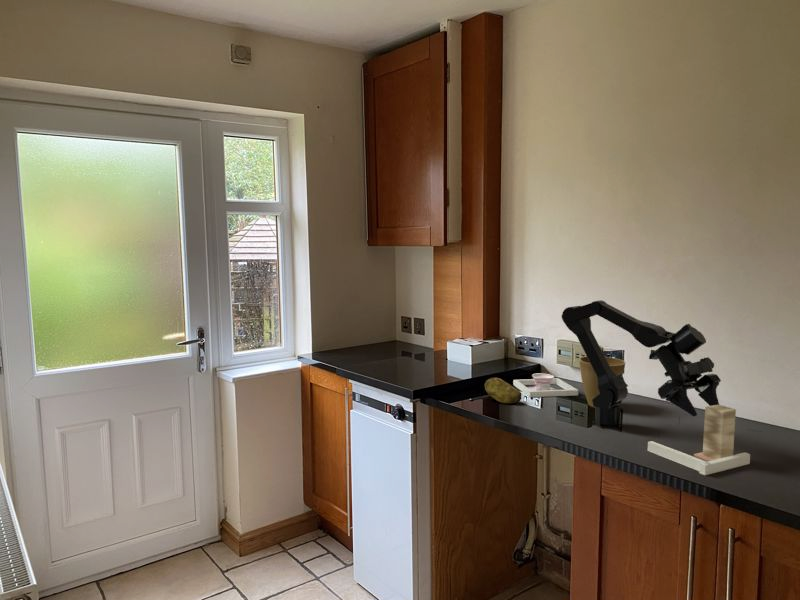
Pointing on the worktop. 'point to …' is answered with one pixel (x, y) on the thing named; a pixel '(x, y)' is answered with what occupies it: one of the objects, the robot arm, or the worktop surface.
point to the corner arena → (699, 464)
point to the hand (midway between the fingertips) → (707, 413)
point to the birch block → (719, 431)
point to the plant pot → (591, 379)
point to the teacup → (542, 382)
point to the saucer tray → (546, 393)
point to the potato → (502, 391)
